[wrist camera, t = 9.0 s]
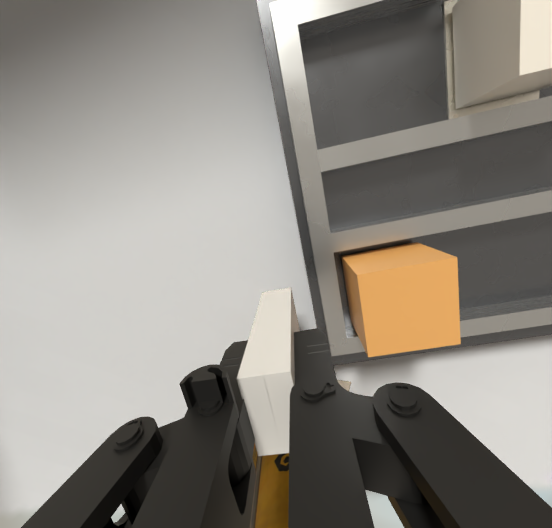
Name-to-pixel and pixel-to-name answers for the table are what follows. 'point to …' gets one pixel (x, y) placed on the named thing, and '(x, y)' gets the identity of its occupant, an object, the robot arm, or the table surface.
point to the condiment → (272, 488)
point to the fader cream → (501, 48)
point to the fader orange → (403, 298)
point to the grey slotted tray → (409, 163)
